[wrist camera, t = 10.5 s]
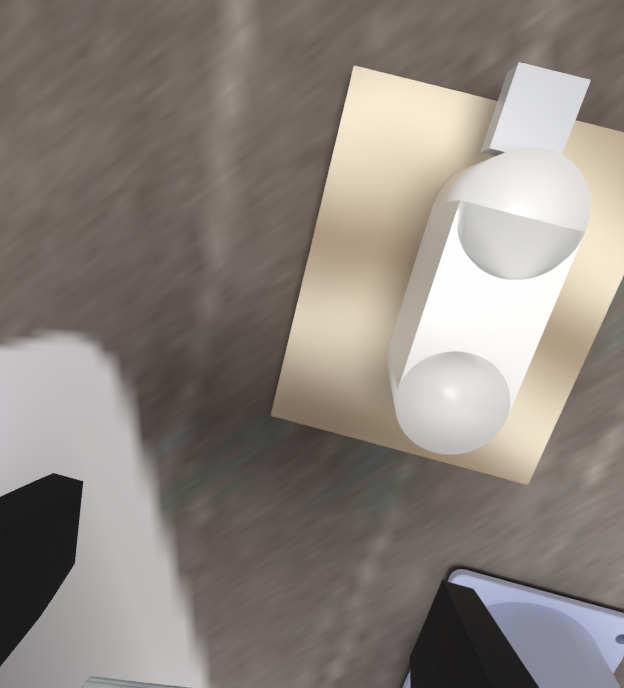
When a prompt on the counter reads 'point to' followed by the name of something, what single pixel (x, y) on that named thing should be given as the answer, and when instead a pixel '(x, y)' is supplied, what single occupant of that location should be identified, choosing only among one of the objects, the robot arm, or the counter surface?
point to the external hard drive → (121, 684)
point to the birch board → (399, 257)
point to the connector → (490, 268)
